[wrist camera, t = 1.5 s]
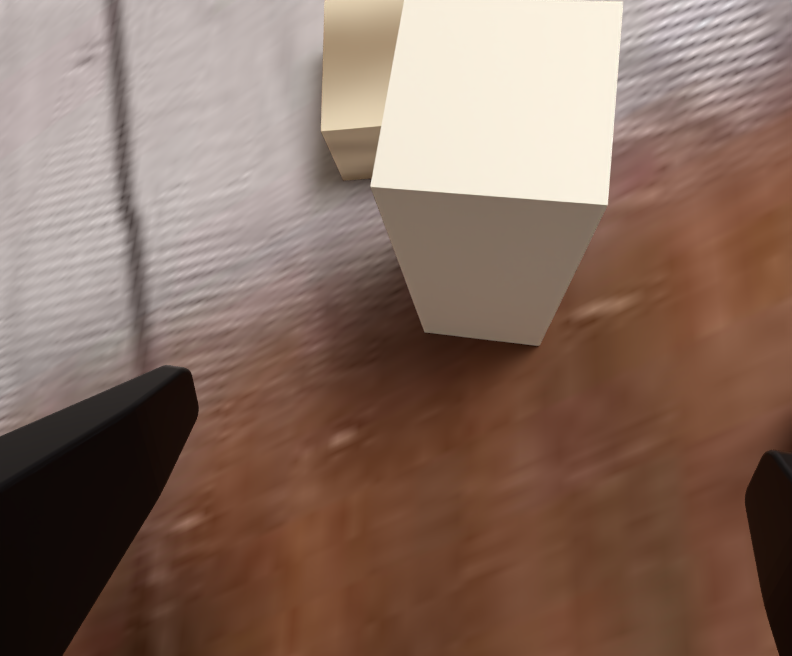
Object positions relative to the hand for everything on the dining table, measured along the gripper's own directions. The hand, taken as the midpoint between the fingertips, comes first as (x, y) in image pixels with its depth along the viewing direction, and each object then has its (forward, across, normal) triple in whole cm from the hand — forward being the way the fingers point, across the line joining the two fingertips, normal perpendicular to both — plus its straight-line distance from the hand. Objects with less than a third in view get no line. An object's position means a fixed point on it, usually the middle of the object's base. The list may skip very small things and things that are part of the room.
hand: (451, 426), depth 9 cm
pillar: (+14, 0, +4) cm, 14 cm away
